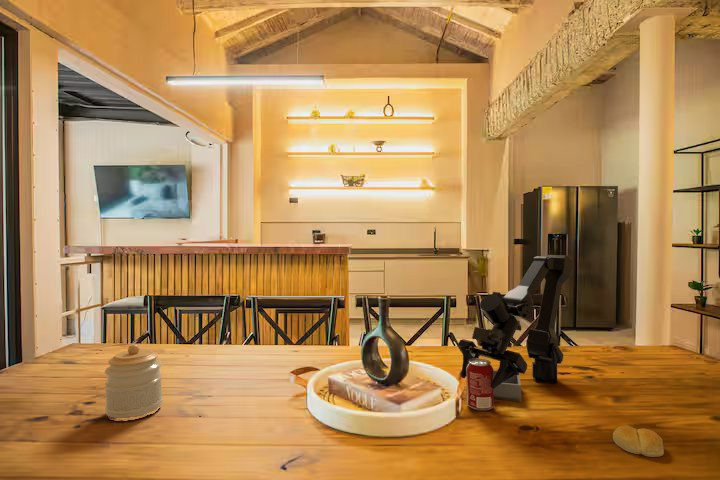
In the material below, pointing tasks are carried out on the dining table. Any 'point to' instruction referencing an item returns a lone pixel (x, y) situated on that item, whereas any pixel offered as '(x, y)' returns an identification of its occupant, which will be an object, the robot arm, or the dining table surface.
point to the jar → (133, 383)
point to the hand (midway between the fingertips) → (476, 382)
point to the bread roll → (639, 441)
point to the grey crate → (508, 389)
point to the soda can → (479, 384)
